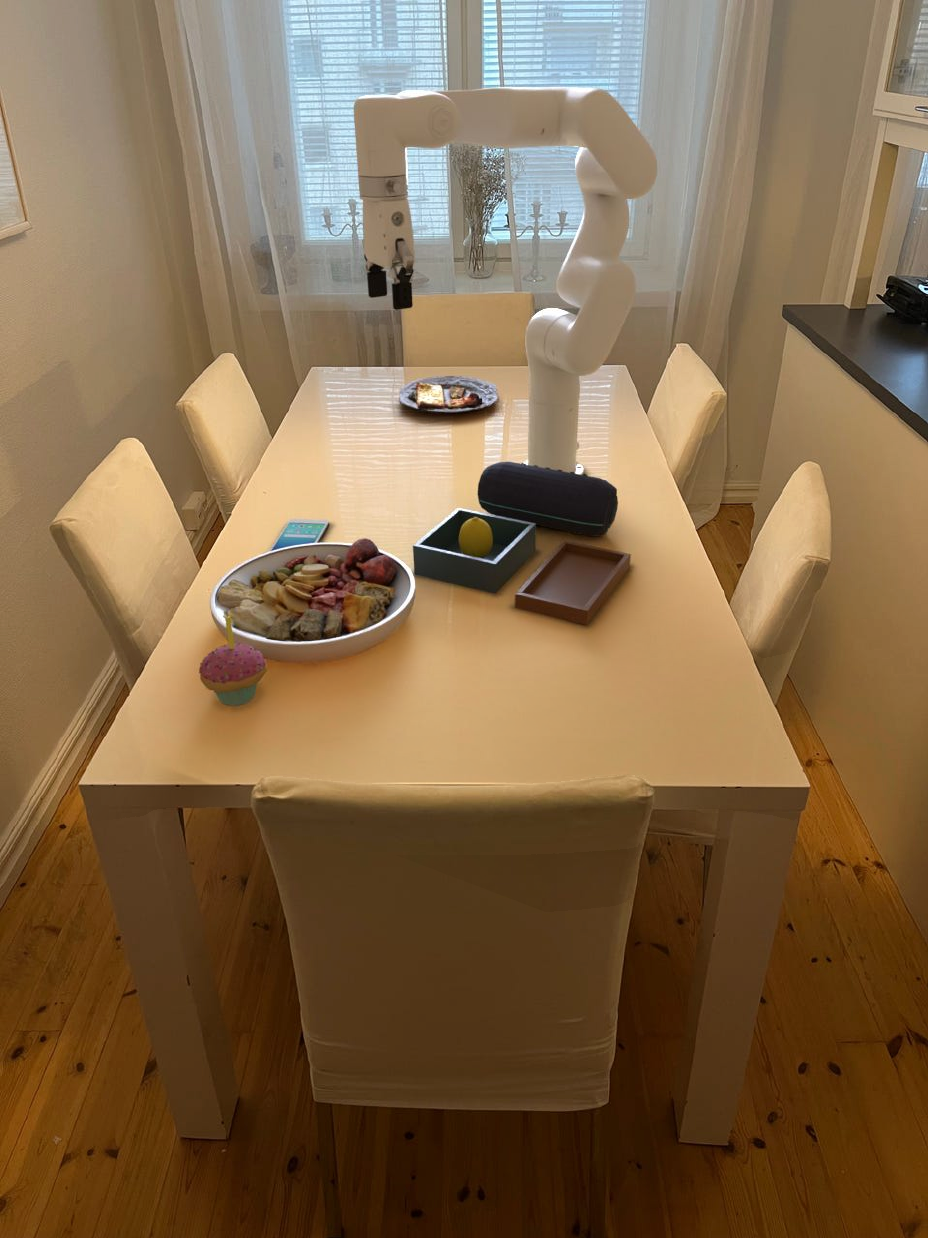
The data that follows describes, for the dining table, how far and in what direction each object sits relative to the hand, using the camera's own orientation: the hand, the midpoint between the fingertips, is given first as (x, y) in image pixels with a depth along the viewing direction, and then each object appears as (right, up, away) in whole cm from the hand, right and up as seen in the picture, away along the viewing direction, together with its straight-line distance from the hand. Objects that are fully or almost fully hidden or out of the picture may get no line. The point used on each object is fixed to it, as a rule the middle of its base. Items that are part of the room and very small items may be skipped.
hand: (390, 302), depth 151 cm
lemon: (+14, -42, +2) cm, 45 cm away
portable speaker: (+27, -35, +14) cm, 46 cm away
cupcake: (-18, -62, -28) cm, 71 cm away
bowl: (-10, -52, -12) cm, 54 cm away
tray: (+29, -47, -6) cm, 55 cm away
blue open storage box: (+14, -42, +2) cm, 45 cm away
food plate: (+8, 0, +71) cm, 71 cm away
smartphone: (-17, -39, +9) cm, 43 cm away
